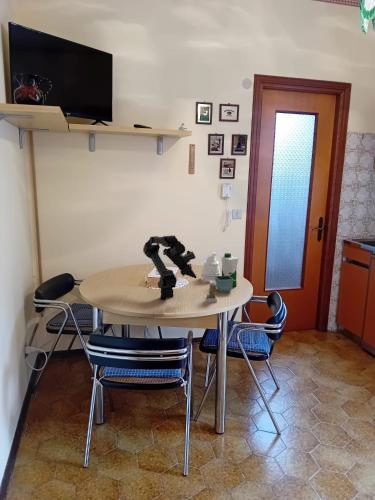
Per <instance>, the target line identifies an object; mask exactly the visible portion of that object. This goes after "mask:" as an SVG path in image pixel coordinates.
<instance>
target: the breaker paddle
mask: <svg viewBox="0 0 375 500" xmlns="http://www.w3.org/2000/svg"><path fill="white" fill-rule="evenodd" d="M208 292H209V293H208V294H209V298H216V297H217V287H216V281H210V282H209V291H208Z"/></svg>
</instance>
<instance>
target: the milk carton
mask: <svg viewBox="0 0 375 500" xmlns="http://www.w3.org/2000/svg"><path fill="white" fill-rule="evenodd" d="M220 259H221V276H230V277H231V278H232V279H233V285H232V288H235V287H237V286H238V285H237V284H238V283H237V272H238V262H239V257H236V256H233V255H232V254H231V253H230V252H229V253H228V252H224V256H220Z"/></svg>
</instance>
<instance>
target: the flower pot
mask: <svg viewBox="0 0 375 500" xmlns="http://www.w3.org/2000/svg"><path fill="white" fill-rule="evenodd" d="M215 281H216V291H218V292H219V293H230V292H232V288H233V287H232V285H233V279H232V278H231V277H230V276H222V275H221V276H215Z"/></svg>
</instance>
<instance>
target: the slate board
mask: <svg viewBox="0 0 375 500" xmlns="http://www.w3.org/2000/svg"><path fill="white" fill-rule="evenodd" d="M206 299H207V303H218V298H217V296H216V298H209V293H208V294H206Z"/></svg>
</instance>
